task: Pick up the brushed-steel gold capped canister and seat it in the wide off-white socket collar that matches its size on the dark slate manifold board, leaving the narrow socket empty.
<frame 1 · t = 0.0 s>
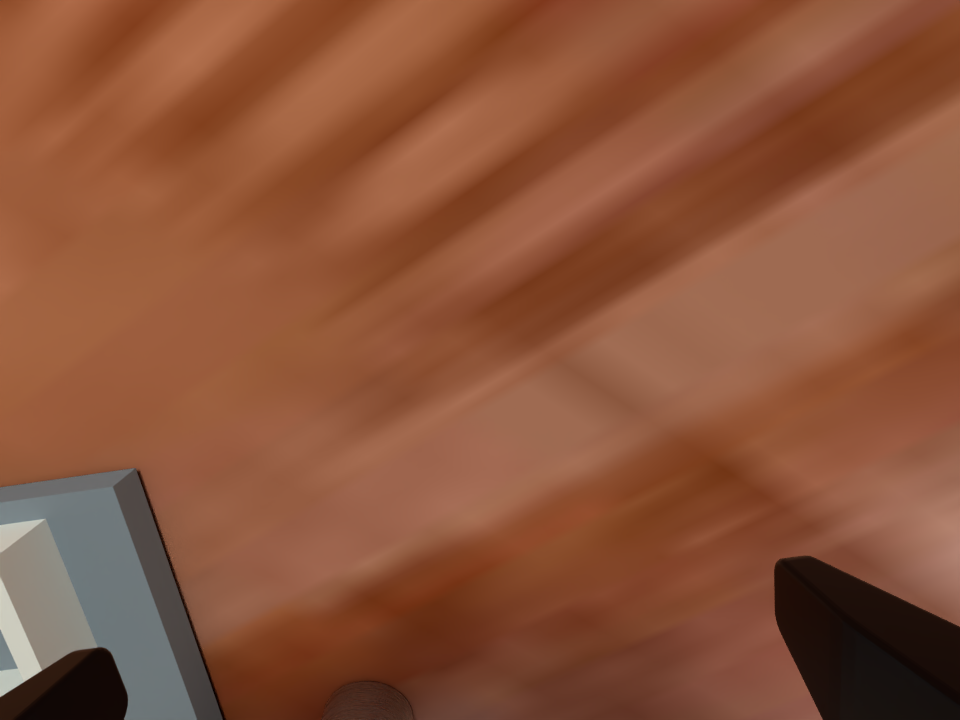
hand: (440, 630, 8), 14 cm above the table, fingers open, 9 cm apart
manifold board: (60, 682, 26), on the table
gold capped canister: (368, 716, 27), on the table
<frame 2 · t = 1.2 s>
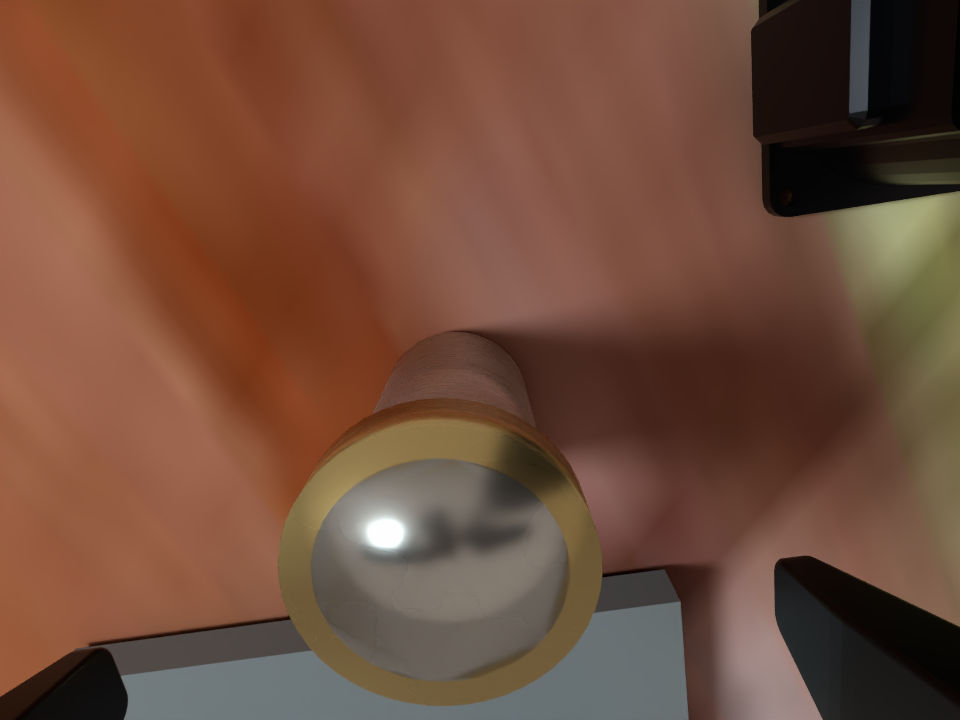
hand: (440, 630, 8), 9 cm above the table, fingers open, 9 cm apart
gold capped canister: (456, 400, 17), on the table
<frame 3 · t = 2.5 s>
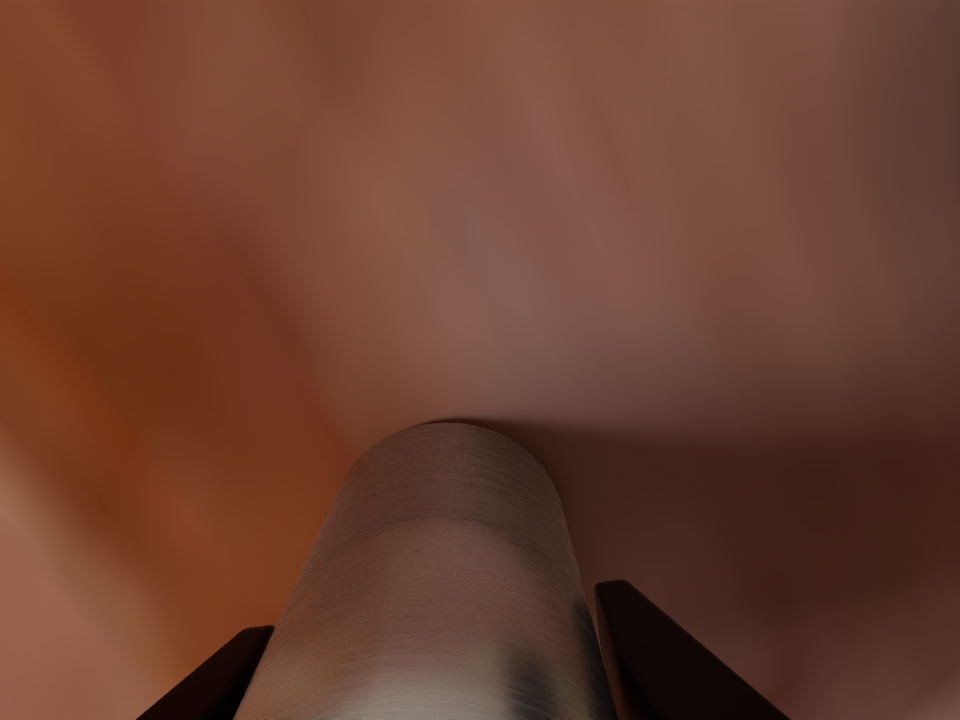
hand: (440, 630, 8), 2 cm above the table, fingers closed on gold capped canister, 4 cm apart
gold capped canister: (448, 529, 10), on the table, touching gripper
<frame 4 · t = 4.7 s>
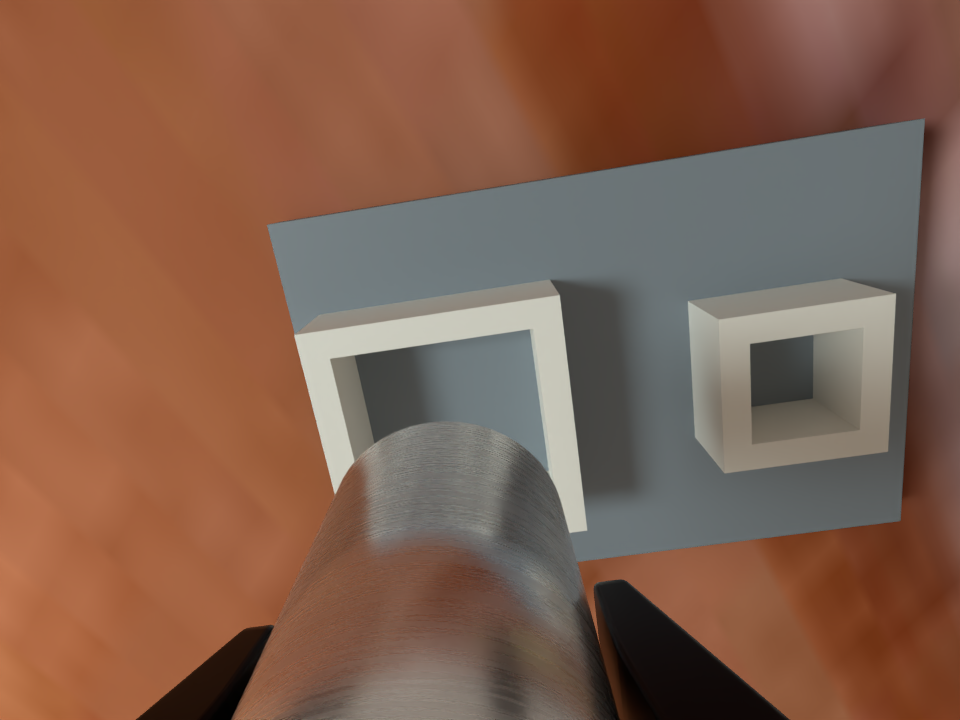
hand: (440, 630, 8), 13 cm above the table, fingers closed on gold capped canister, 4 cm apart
manifold board: (598, 369, 20), on the table
gold capped canister: (447, 529, 10), point 11 cm above the table, touching gripper
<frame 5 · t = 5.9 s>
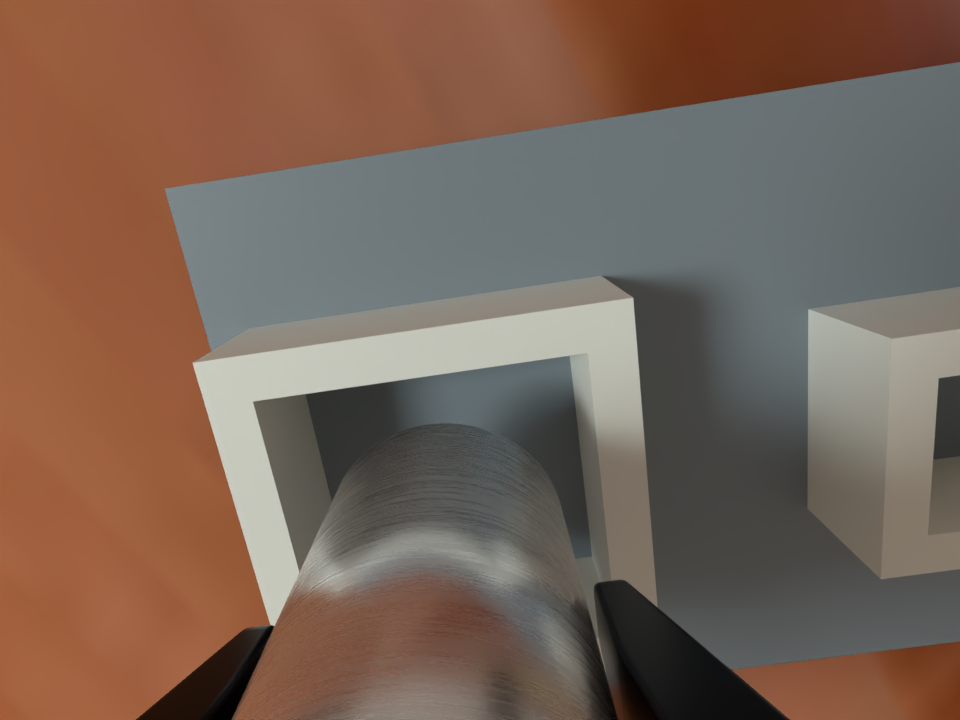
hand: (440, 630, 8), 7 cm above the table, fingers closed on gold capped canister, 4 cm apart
manifold board: (660, 406, 14), on the table
gold capped canister: (447, 531, 10), point 4 cm above the table, touching gripper
when the fingers open (5 cm above the table, at t = 7.0 s): gold capped canister drops 1 cm, resting on manifold board.
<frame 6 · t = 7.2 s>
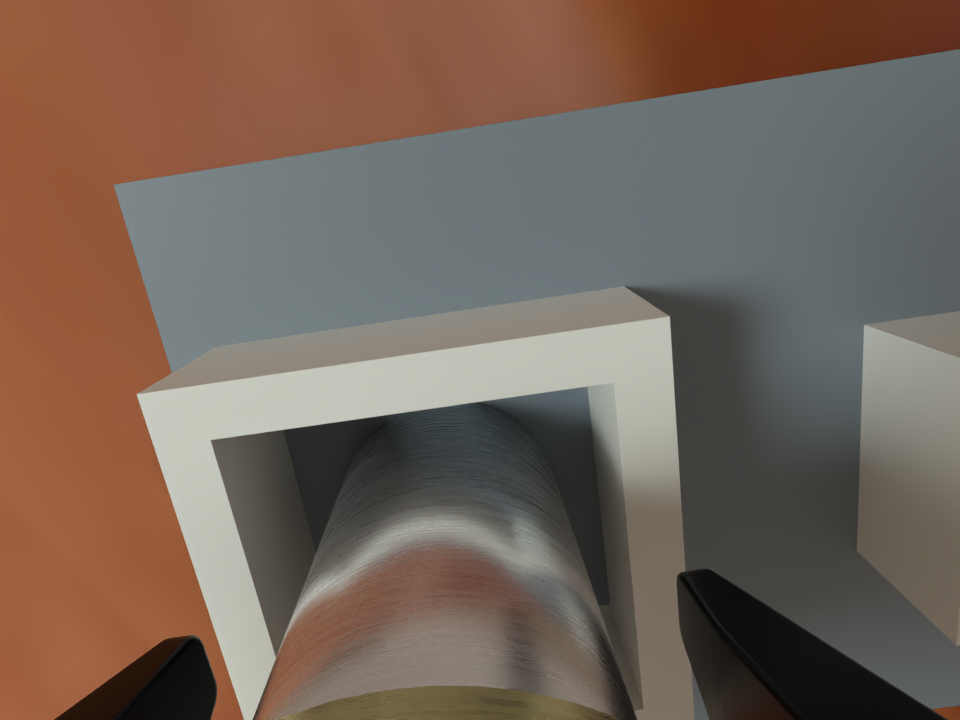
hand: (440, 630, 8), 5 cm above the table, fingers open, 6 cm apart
manifold board: (686, 432, 12), on the table
gold capped canister: (450, 499, 11), point 2 cm above the table, touching manifold board
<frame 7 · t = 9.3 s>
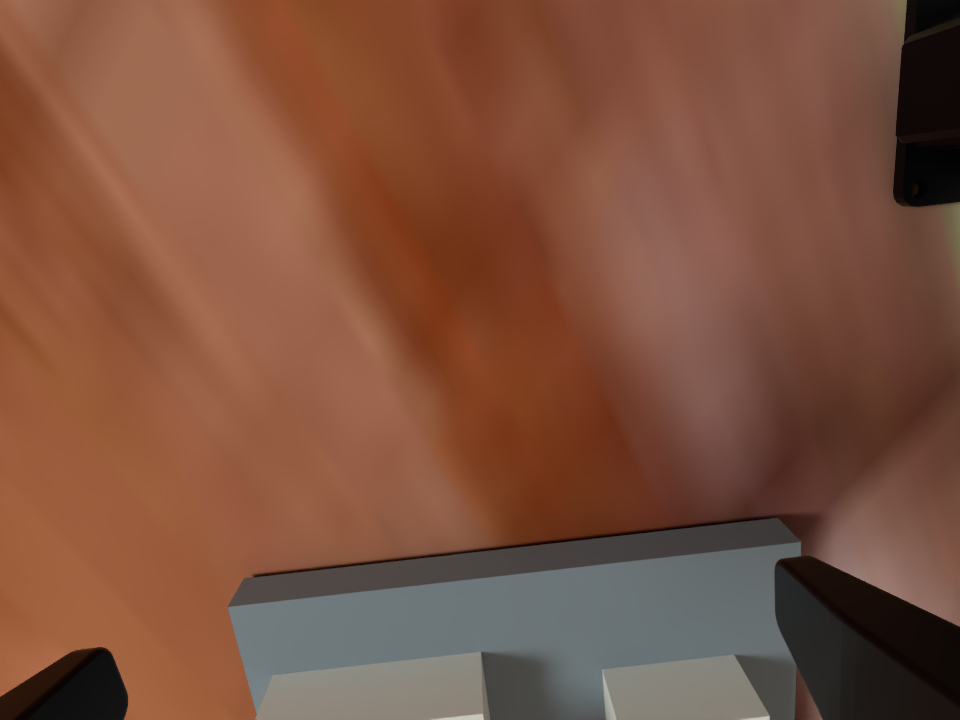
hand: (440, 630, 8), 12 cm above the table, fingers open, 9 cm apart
manifold board: (526, 695, 23), on the table
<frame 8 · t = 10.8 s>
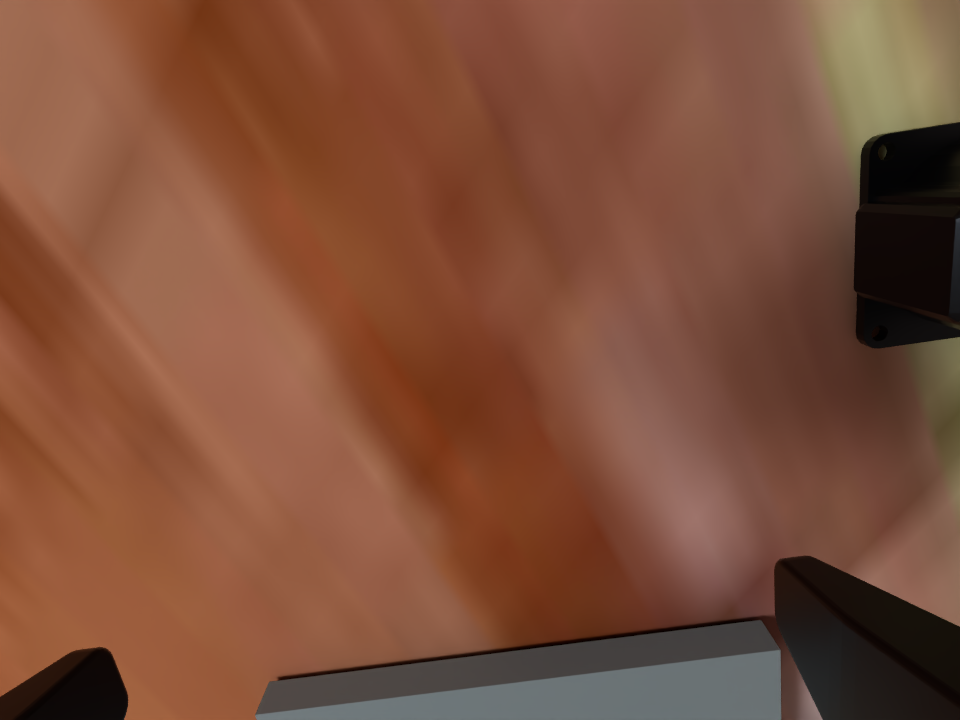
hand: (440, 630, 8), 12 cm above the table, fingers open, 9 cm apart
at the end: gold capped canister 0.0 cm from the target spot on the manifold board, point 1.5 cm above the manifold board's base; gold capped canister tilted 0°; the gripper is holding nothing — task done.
